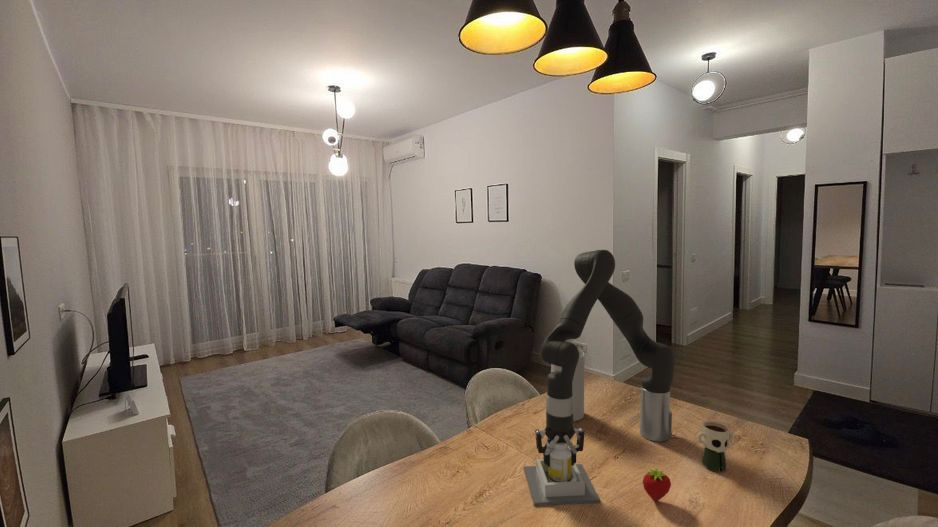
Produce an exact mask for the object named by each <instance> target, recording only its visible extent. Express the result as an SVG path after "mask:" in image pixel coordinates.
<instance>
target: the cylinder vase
mask: <svg viewBox="0 0 938 527" xmlns="http://www.w3.org/2000/svg"><path fill="white" fill-rule="evenodd" d="M578 351H579V360H578V363H577V366H576V369H575V373H574V377H573V382H572V397H573V407H574V410H573V423H574V422H578V421H581V420H582V419H583V418H584V416H585V352H584V351H582V350H580V349H578ZM550 365H551V366H550V367H551V368H550V373H551V372H555V371H562V367H560V366H556V365H552V364H550Z"/></svg>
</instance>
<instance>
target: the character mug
mask: <svg viewBox="0 0 938 527" xmlns="http://www.w3.org/2000/svg"><path fill="white" fill-rule="evenodd" d="M733 433H734V432H733V431H731V430H730V428H729V427H728V426H727V425H725V424H724V423H722V422H719V421H714V420H706V421H703V422H702V424H701V432H698V433H697V443H698V444H702V445H703V446H704V451H703V454H702V460H701V463H702V464H703V465H704V466H705V467H706V468H707V469H709V470H711V471H715V472H720V469H721V470H722V472H724V471H725V470H726V469H727V468H726V467H727V466H726V464H727V462H726V453H725V452H727V451H728V450H729V447H730V442H733V436H734V434H733Z"/></svg>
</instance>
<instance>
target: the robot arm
mask: <svg viewBox="0 0 938 527" xmlns="http://www.w3.org/2000/svg"><path fill="white" fill-rule="evenodd" d="M573 262H574V263H573V264H574V269H575V272H576V274H577V276H578V277H579V278H580V280H581V282H582V283H583V287H582V288H581V289H580V290H579V291H578V292H577V293H576V294H575V295H574V296H573V297H572V298H571V299H570V300H569V301H568V303H567V304H566V306H565V308H564V309H563V312H562V314H561V317H560V319H559V321H558V323H557V325H556V326H555V327H554V328H553V330H552V331H551V332H550V333H549V334H548V335H547V337H546V338H545V339H544V341H543V342H542V344H541V346H540V351H539V352H540V358H541V360H542V361H543V362H544V363H546V364H549V365H551V364H552V365H556V366H560V367H562V371H555V372H551V371H550V372H549V373H548V374H547V377H546V399H545V415H546V416H545V423H546V424H545V428H544V430H543V429H542V430H539V429H537V428H536V429H535V430H534V434H535V435H534V436H535V444H536V449H537V452H538V454H543V455H542V456H543V458H542V459H543V461H544V463H545V465H546V466H547V467H550V455H549V453H550V451H551V449H553V447H554V445H555V444H556V443H567V444H568V448H569V449H570V450H571V465H572V466H574V463H575V464H577V453H578V452H583V451H584V444H585V431H584V429H583V428H582V427H578V428H574V422H573V410H574V407H573V397H572V382H573V377H574V373H575V369H576V366H577V363H578V360H579V351H578V350H579V348H578V347H577V345H576V344H575V343H573V342H569V341H568V340H577V339H579V338H580V337H581V336H582V333H583V330H584V329H585V325H586V323H587V322H588V321H587V320H588V318H589V316H590V313H591V311H592V309H593V308H594V306H595V304H596V302H597V300H598V301H599V302H600V305H601V306H602V307H603V308H604V310H606V312H607V314H608V315H609V317H610V319H611V320H612V321H613V323H614V325H615V326H616V327H617V328H618V329H619V331H620V333H621V334H622V335H623V337H624V338H625V339H626V341H627V342H628V344H629V346H630V348H631V350H632V351H633V353H634V356H635V357H636V359H637V360H638V362H639V363H640V364H641V365H643V366H644V367H647V368H649V369H651V370H652V371H651V375H645V376H642V378H641V381H640V414H639V415H640V417H639V418H640V420H639V433H640V436H642V437H643V438H645V440H650V441H652V442H661V443H662V442H666V441H667V440H670V439H672V432H673V429H672V427H673V413H672V412H673V411H671V410H670V405H671V386H672V383H673V381H674V371H675V360H676V358H675V352H674V350H673V349H672V347H670V346H668V345H665V344H664V343H661V342H658V341H655V340H653V339H652V338H651V337H650V336H649V335H648V333H646V331H645V329H644V315H643V312H642V311H641V309H640V308H639V306H638V305H637V303H636V302H635V300H634V299H633V298H632V297H631V296H630V295H629V294H627V293H626V292H625V291H623V290H621V289H620V288H618V287H617V286H614V285H613V284H612V283H611V282H610V280H611V278H612V276H613V274H614V272H615V269H616V260H615V257H614V254H613V253H612V252H611V251H609V250H607V249H596V250H593V251H586V252H581V253H579V254H577V255H576V257H575V258H574V261H573ZM544 436H546V437H547V438H546V440H545V443H544V445H543V443H542V441H543V439H544ZM574 436H576V444H574V443H573V442H572V438H573V437H574Z"/></svg>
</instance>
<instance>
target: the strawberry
mask: <svg viewBox="0 0 938 527" xmlns="http://www.w3.org/2000/svg"><path fill="white" fill-rule="evenodd" d="M648 469H649V470H650V471H646V474H645V475H644V476H643V479H642V485H643V489H644V491H645V492H646V494H647V495H648V496H649V497H650V499H651V500H652V501H654V502H658V501H660V500H661V499H663V498H664V497H665V496H666V495H667V494H669V491H670V489H671V486H672V483H671V479H670V477H669V476H668V475H667V474H665V473H663V472H664V470H659V467H658V468H655V469H652V468H648Z"/></svg>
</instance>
